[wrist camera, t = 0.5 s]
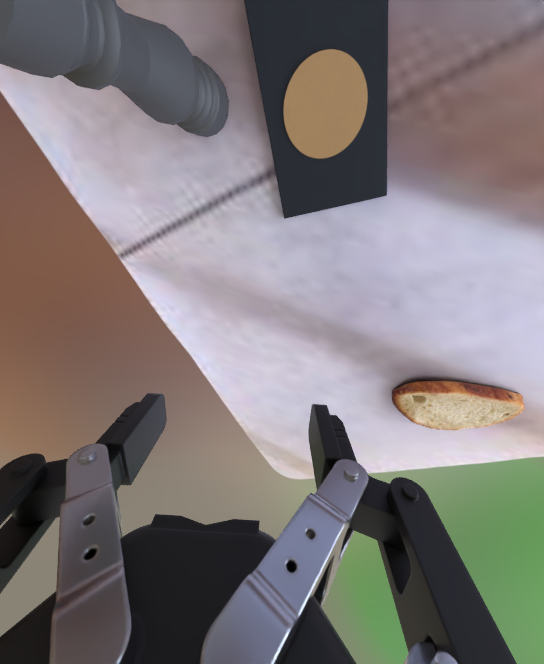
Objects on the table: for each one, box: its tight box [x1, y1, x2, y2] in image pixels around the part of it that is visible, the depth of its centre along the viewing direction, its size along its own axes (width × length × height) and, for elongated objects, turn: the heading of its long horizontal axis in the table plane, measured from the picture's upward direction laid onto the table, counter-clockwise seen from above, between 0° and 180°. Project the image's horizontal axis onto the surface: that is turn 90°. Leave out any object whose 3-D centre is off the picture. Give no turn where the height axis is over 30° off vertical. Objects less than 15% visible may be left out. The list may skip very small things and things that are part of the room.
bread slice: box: [392, 381, 525, 430], centre depth 46 cm, size 18×18×4 cm
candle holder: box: [0, 0, 228, 137], centre depth 19 cm, size 6×6×25 cm
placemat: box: [244, 0, 388, 218], centre depth 28 cm, size 20×13×1 cm, turn 13°
